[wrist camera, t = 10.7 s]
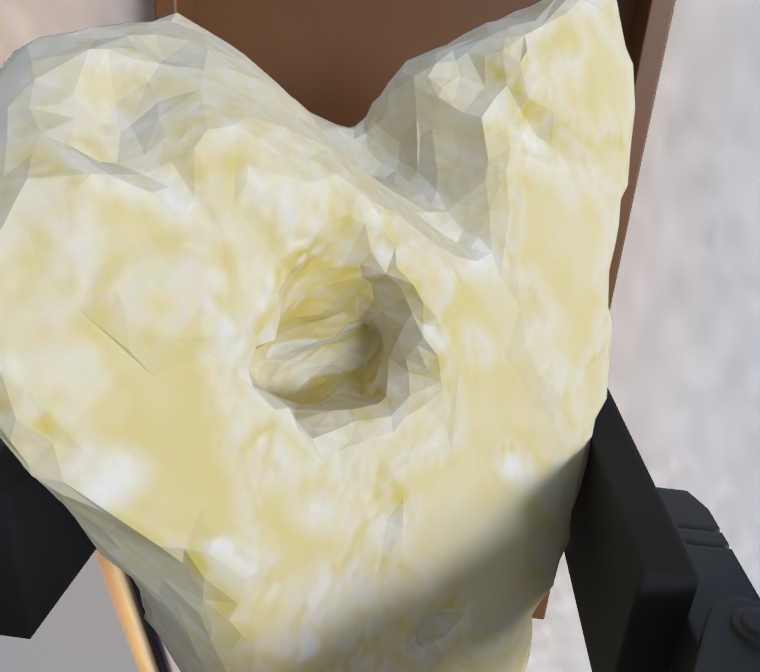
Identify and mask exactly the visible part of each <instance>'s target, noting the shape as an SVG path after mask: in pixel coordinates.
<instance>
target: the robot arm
mask: <svg viewBox="0 0 760 672" xmlns="http://www.w3.org/2000/svg"><path fill="white" fill-rule="evenodd" d="M719 530H720V529H719V527H718V525H717V523H716V522H715V520H714V518H713V516H712V515H711V513H710V511H709V510H708V509H707V508H706V507H705V506H704V505H703V504H702V503H700V502H699V501H698V500H697V499H696V498H695V497H693V496H692V495H691V494H690V493H689V492H688V491H683V490H675V489H666V488H658V487H655V485H654V483H653V481H652V479H651V476H650V474H649V472H648V470H647V468H646V466H645V464H644V462H643V460H642V458H641V456H640V454H639V452H638V450H637V447H636V445H635V443H634V441H633V439H632V437H631V435H630V433H629V431H628V429H627V427H626V425H625V423H624V421H623V419H622V416H621V414H620V412H619V410H618V408H617V406H616V404H615V402H614V400H613V398H612V396H611V394H610V392H609V390H608V388H607V399H606V401H605V402H604V404H603V406H602V408H601V410H600V411H599V413H598V415H597V417H596V419H595V423H594V428H593V434H592V437H591V443H590V450H589V455H588V460H587V465H586V469H585V472H584V476H583V479H582V483H581V486H580V490H579V493H578V496H577V499H576V502H575V505H574V507H573V510H572V514H571V526H570V538H569V543H568V544H567V546H566V548H565V550H564V552H565V557H566V561H567V565H568V570H569V574H570V578H571V583H572V587H573V591H574V596H575V600H576V604H577V609H578V613H579V617H580V622H581V626H582V630H583V634H584V639H585V643H586V647H587V652H588V656H589V660H590V665H591V669H592V672H760V598H759V596H758V594H757V593H756V591H755V589H754V587H753V586H752V584H751V582H750V581H749V579H748V577H747V575H746V574H745V572H744V570H743V568H742V567H741V565H740V563H739V561H738V560H737V558H736V556H735V555H734V553H733V551H732V549H729V544H728V542H727V541H726V539H725V537H724V536H723V534H722V533H720V531H719ZM95 550H96V547H95V545H94V544H93V543H92V542H91V540H90V539H89V537H88V536H87V534H86V533H85V532H84V530H83V529H82V527H81V526H80V524H79V523H78V521H77V520H76V519H75V517H74V516H73V515H72V514H71V512H70V511H69V510H68V509H67V508H66V506H65V505H64V504H63V503H62V502H61V501H59V500H58V499H57V498H56V497H55V496H54V495H53V494H52V493H51V492H50V491H49V490H48V489H47V488H46V487H45V486H44V485H43V484H42V483H40V482H39V481H38V480H37V479H36V478H34V477H33V476H32V475H31V474H30V473H29V472H28V471H27V470H26V469H25V468H24V467H23V465H22V463H21V462H20V461H19V460H18V458H17V457H16V456H15V455H14V453H13V452H12V451H11V450H10V449H9V447H8V446H7V445H6V444H5V442H4V441H3V440H2V439H1V438H0V635H5V636H12V637H19V638H27V639H30V638H31V637H32V636H33V634H34V633H35V632H36V630H37V629H38V627H39V626H40V625H41V623H42V622H43V621H44V619H45V618H46V617H47V615H48V614H49V612H50V611H51V610H52V608H53V607H54V606H55V604H56V603H57V602H58V600H59V599H60V597H61V596H62V595H63V593H64V592H65V590H66V589H67V588H68V586H69V585H70V584H71V582H72V581H73V580H74V578H75V577H76V576H77V574H78V573H79V571H80V570H81V569H82V567H83V566H84V564H85V563H86V562H87V561H88V559H89V558H90V556H91V555H92V554H93V552H94V551H95Z"/></svg>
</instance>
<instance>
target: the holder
mask: <svg viewBox="0 0 760 672" xmlns="http://www.w3.org/2000/svg"><path fill="white" fill-rule="evenodd" d="M540 1H542V0H155V14H156V20H158V19H161V18H164V17H166V16H169V15H172V14H174V13H179V14H180V15H182V16H184V17H185V18H187V19H189V20H190V21H192V22H194V23H195V24H197V25H199V26H200V27H202V28H204V29H205V30H207V31H209V32H210V33H212V34H213V35H215V36H217V37H218V38H220V39H222V40H223V41H225V42H227V43H228V44H230V45H231V46H233V47H234V48H236V49H237V50H239V51H240V52H241V53H243V54H244V55H245V56H247V57H248V58H249V59H250V60H251V61H252V62H254V63H255V64H256V65H257V66H258V67H259V68H260V69H262V70H263V71H264V72H265V73H266V74H267V75H269V76H270V77H271V78H272V79H273V80H274V81H275V82H277V83H278V84H279V85H280V86H281V87H282V88H283V89H284V90H285V91H286V92H287V93H288V94H289V95H290V96H291V97H292V98H294V99H295V100H297V101H298V102H299V103H300V104H301V105H302V106H303V107H305V108H306V109H307V110H308V111H309V112H311V113H313V114H315V115H317V116H319V117H321V118H323V119H325V120H328V121H330V122H332V123H334V124H337V125H341V126H344V127H348V128H350V127H354V126H356V125H357V124H358V123H359V122H360V121H362V120H363V119H364V118H365V117H366V115H367V113H368V111H369V109H370V107H371V105H372V103H373V102H374V101H375V100H376V99H377V98H378V97H379V96H380V95H381V93H382V92H383V90H384V89H385V87H386V86H387V84H388V83H389V82H390V80H391V79H392V78H393V77H394V76H395V74H396V73H397V72H398V71H399V69H400V68H401V67H402V66H403V65H404V63H405V62H406V61H408V60H410V59H412V58H415V57H417V56H419V55H422V54H424V53H427V52H429V51H431V50H434V49H436V48H439V47H442V46H445V45H447V44H449V43H450V42H452V41H453V40H455V39H457V38H458V37H460V36H462V35H463V34H465V33H467V32H469V31H471V30H473V29H475V28H477V27H479V26H481V25H483V24H485V23H487V22H493V21H497V20H499V19H501V18H503V17H505V16H507V15H509V14H511V13H513V12H515V11H518V10H521V9H524V8H527V7H530V6H532V5H534V4H536V3H538V2H540ZM616 1H617V4H618V10H619V16H620V21H621V26H622V31H623V36H624V41H625V46H626V49H627V51H628V53H629V56H630V58H631V61H632V63H633V73H634V94H635V114H634V123H633V131H632V140H631V150H630V162H629V175H628V186H627V188H626V190H625V192H624V194H623V196H622V198H621V203H620V217H619V227H618V233H617V238H616V244H615V248H614V252H613V256H612V261H611V265H610V269H609V294H608V308H609V311H610V306H611V302H612V297H613V292H614V288H615V283H616V278H617V273H618V269H619V264H620V259H621V255H622V250H623V245H624V241H625V236H626V231H627V226H628V222H629V217H630V212H631V208H632V203H633V198H634V194H635V189H636V184H637V179H638V175H639V170H640V165H641V161H642V156H643V151H644V147H645V142H646V137H647V132H648V128H649V123H650V118H651V114H652V109H653V104H654V100H655V95H656V90H657V85H658V81H659V76H660V71H661V67H662V62H663V57H664V52H665V48H666V43H667V38H668V34H669V29H670V24H671V20H672V15H673V10H674V5H675V1H676V0H616ZM549 593H550V590H549V591H548V593H547V594H546V595H545V596H544V598H543V599H542V600H541V601H540V603H539V604H538V606H537V608H536V609H535V611H534V613H533V615H532V618H537V619H544V617H545V612H546V607H547V603H548V598H549Z"/></svg>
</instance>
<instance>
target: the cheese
mask: <svg viewBox="0 0 760 672" xmlns="http://www.w3.org/2000/svg"><path fill="white" fill-rule="evenodd" d="M634 114H635V94H634V73H633V63H632V61H631V58H630V56H629V53H628V51H627V49H626V46H625V41H624V36H623V31H622V26H621V21H620V16H619V10H618V4H617V1H616V0H542V1H540V2H538V3H536V4H534V5H532V6H530V7H527V8H524V9H521V10H518V11H515V12H513V13H511V14H509V15H507V16H505V17H503V18H501V19H499V20H497V21H493V22H487V23H485V24H483V25H481V26H479V27H477V28H475V29H473V30H471V31H469V32H467V33H465V34H463V35H462V36H460V37H458V38H457V39H455V40H453V41H452V42H450V43H449V44H447V45H445V46H442V47H439V48H436V49H434V50H431V51H429V52H427V53H424V54H422V55H419V56H417V57H415V58H412V59H410V60H408V61H406V62H405V63H404V65H403V66H402V67H401V68H400V69H399V71H398V72H397V73H396V74H395V76H394V77H393V78H392V79H391V80H390V82H389V83H388V84H387V86H386V87H385V89H384V90H383V92H382V93H381V95H380V96H379V97H378V98H377V99H376V100H375V101H374V102H373V103H372V105H371V107H370V109H369V111H368V113H367V115H366V117H365V118H364V119H363V120H362V121H360V122H359V123H358V124H357V125H356V126H354V127H350V128H348V127H344V126H341V125H337V124H334V123H332V122H330V121H328V120H325V119H323V118H321V117H319V116H317V115H315V114H313V113H311V112H309V111H308V110H307V109H306V108H305V107H303V106H302V105H301V104H300V103H299V102H298V101H297V100H295V99H294V98H292V97H291V96H290V95H289V94H288V93H287V92H286V91H285V90H284V89H283V88H282V87H281V86H280V85H279V84H278V83H277V82H275V81H274V80H273V79H272V78H271V77H270V76H269V75H267V74H266V73H265V72H264V71H263V70H262V69H260V68H259V67H258V66H257V65H256V64H255V63H254V62H252V61H251V60H250V59H249V58H248V57H247V56H245V55H244V54H243V53H241V52H240V51H239V50H237V49H236V48H234V47H233V46H231V45H230V44H228V43H227V42H225V41H223V40H222V39H220V38H218V37H217V36H215V35H213V34H212V33H210V32H209V31H207V30H205V29H204V28H202V27H200V26H199V25H197V24H195V23H194V22H192V21H190V20H189V19H187V18H185V17H184V16H182V15H180V14H179V13H174V14H172V15H169V16H166V17H164V18H161V19H158V20H155V21H153V22H134V23H121V24H114V25H106V26H99V27H91V28H87V29H83V30H79V31H75V32H70V33H63V34H57V35H51V36H45V37H39V38H37V39H36V40H34V41H32V42H30V43H29V44H27V45H25V46H23V47H21V48H20V49H18V50H16V51H14V53H13V54H12V55H11V57H10V58H9V59H8V60H7V62H6V63H5V64H4V65H3V67H2V68H1V69H0V438H1V439H2V440H3V441H4V442H5V444H6V445H7V446H8V447H9V449H10V450H11V451H12V452H13V453H14V455H15V456H16V457H17V458H18V460H19V461H20V462H21V463H22V465H23V467H24V468H25V469H26V470H27V471H28V472H29V473H30V474H31V475H32V476H33V477H34V478H36V479H37V480H38V481H39V482H40V483H42V484H43V485H44V486H45V487H46V488H47V489H48V490H49V491H50V492H51V493H52V494H53V495H54V496H55V497H56V498H57V499H58V500H59V501H61V502H62V503H63V504H64V505H65V506H66V508H67V509H68V510H69V511H70V512H71V514H72V515H73V516H74V517H75V519H76V520H77V521H78V523H79V524H80V526H81V527H82V529H83V530H84V532H85V533H86V534H87V536H88V537H89V539H90V540H91V542H92V543H93V544H94V545H95V547H96V548H97V549H98V551H99V552H100V553H101V555H102V556H104V557H105V558H106V559H108V560H109V561H111V562H112V563H113V564H115V565H116V566H117V567H119V568H120V569H121V570H123V571H124V572H126V573H127V574H128V575H130V576H131V577H132V579H133V580H134V582H135V583H136V585H137V586H138V588H139V590H140V594H141V600H142V605H143V607H144V609H145V616H144V618H145V619H146V620H147V622H148V623H149V624H150V625H151V626H152V627H153V628H154V630H155V631H156V632H157V634H158V635H159V636H160V638H161V639H162V641H163V643H164V644H165V646H166V648H167V650H168V651H169V653H170V655H171V657H172V658H173V660H174V662H175V663H176V665H177V666H178V668H179V669H180V671H181V672H525V669H526V665H527V662H528V658H529V655H530V647H531V638H532V615H533V613H534V611H535V609H536V608H537V606H538V604H539V603H540V601H541V600H542V599H543V598H544V596H545V595H546V594H547V593H548V591H549V590H550V589H551V587H552V586H553V583H554V579H555V576H556V572H557V568H558V564H559V560H560V558H561V556H562V554H563V552H564V550H565V548H566V546H567V544H568V543H569V538H570V526H571V514H572V510H573V507H574V505H575V502H576V499H577V496H578V493H579V490H580V486H581V483H582V479H583V476H584V472H585V469H586V465H587V460H588V455H589V450H590V443H591V437H592V434H593V428H594V423H595V419H596V417H597V415H598V413H599V411H600V410H601V408H602V406H603V404H604V402H605V401H606V399H607V387H608V373H609V359H610V349H611V338H612V327H613V326H612V321H611V317H610V312H609V308H608V294H609V269H610V265H611V261H612V256H613V252H614V248H615V244H616V238H617V233H618V227H619V217H620V203H621V198H622V196H623V194H624V192H625V190H626V188H627V186H628V175H629V162H630V150H631V140H632V131H633V123H634Z"/></svg>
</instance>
